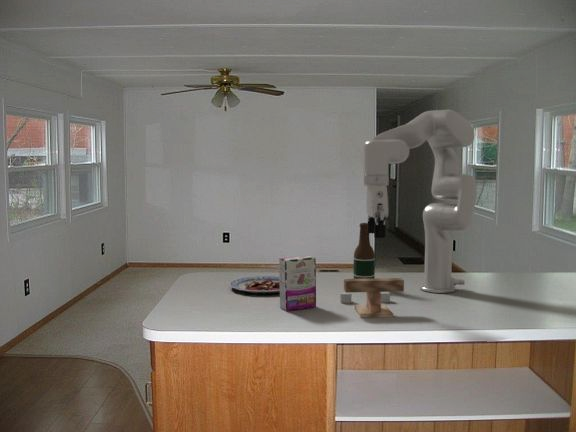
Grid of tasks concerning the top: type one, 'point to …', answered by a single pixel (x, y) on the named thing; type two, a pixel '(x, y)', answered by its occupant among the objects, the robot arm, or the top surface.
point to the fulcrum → (373, 307)
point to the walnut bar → (374, 285)
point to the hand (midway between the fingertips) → (376, 235)
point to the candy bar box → (297, 282)
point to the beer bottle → (364, 256)
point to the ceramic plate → (257, 284)
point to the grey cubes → (347, 297)
